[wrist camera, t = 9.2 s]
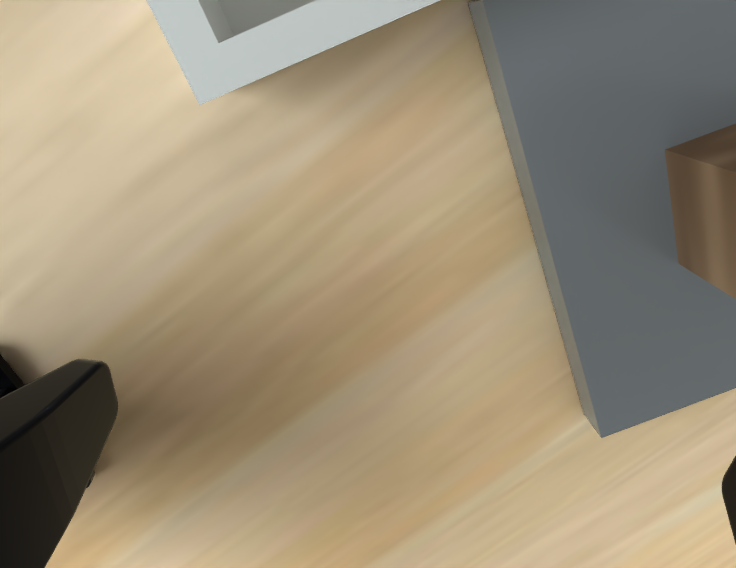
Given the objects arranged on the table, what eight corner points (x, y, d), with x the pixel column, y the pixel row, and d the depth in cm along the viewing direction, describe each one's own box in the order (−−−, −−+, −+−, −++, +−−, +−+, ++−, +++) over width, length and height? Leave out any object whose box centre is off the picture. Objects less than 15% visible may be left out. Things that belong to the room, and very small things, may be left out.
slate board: (583, 413, 23) (601, 438, 21) (467, 3, 16) (482, 0, 15) (875, 303, 22) (913, 321, 21) (878, -176, 15) (933, -196, 14)
